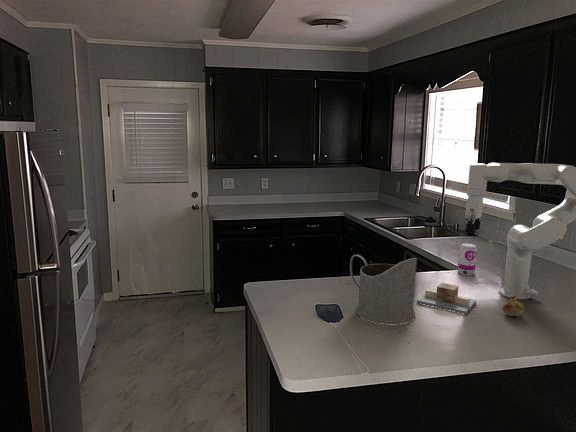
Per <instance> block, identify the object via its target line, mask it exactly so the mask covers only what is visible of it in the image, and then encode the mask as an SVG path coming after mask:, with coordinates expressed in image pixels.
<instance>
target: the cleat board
mask: <svg viewBox="0 0 576 432" xmlns="http://www.w3.org/2000/svg"><path fill="white" fill-rule="evenodd" d="M436 294H437V290H433V289H425V291H424V293H423V294H422V295H421V296H420V297H418V299H416V304H417V303H421V304H425V305H429V306H434V307H437V308H436V309H438V308H441V309H440V310H442V309H446V310H451V311H455V312H459V313H464V314H466V313H467V312H468V311H469V310H472V308H474V306H475V305H476V304H477V299H474V298H468V297H465V296H459V295H458V296H456V295H455V296H454V303H453V304H450V303H446V302H441V301H437V300H436ZM475 303H476V304H475ZM421 304H420V305H421ZM474 304H475V305H474ZM425 305H424V306H425ZM473 305H474V306H473ZM429 306H428V307H429ZM434 307H433V308H434ZM446 310H445V311H446ZM455 312H454V313H455ZM469 312H470V311H469ZM469 312H468V313H469ZM459 313H458V314H459ZM468 313H467V314H468ZM467 314H466V315H467Z"/></svg>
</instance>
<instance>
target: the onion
mask: <svg viewBox="0 0 576 432" xmlns="http://www.w3.org/2000/svg"><path fill="white" fill-rule="evenodd" d="M524 311H525V306H524V305H523V303H521V302H520V301H518V299H516V296H511V297H510V298H509V300H508V301H507V302H506V303H504V304H503V306H502V312H503V313H504V314H506V315H507V316H509V317H511V316H517V317H519V316H522V315H523V313H524Z"/></svg>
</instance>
